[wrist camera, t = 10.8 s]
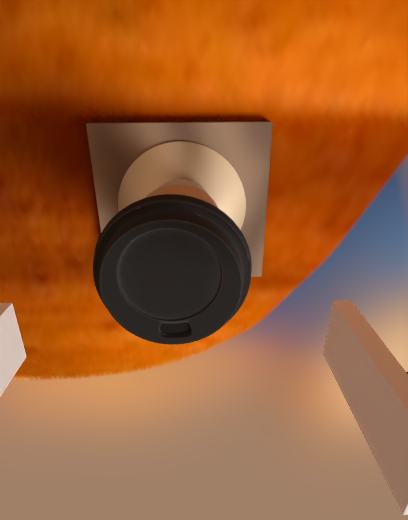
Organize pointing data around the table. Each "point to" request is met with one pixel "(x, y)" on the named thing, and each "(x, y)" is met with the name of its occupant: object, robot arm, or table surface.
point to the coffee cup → (172, 265)
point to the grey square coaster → (186, 168)
